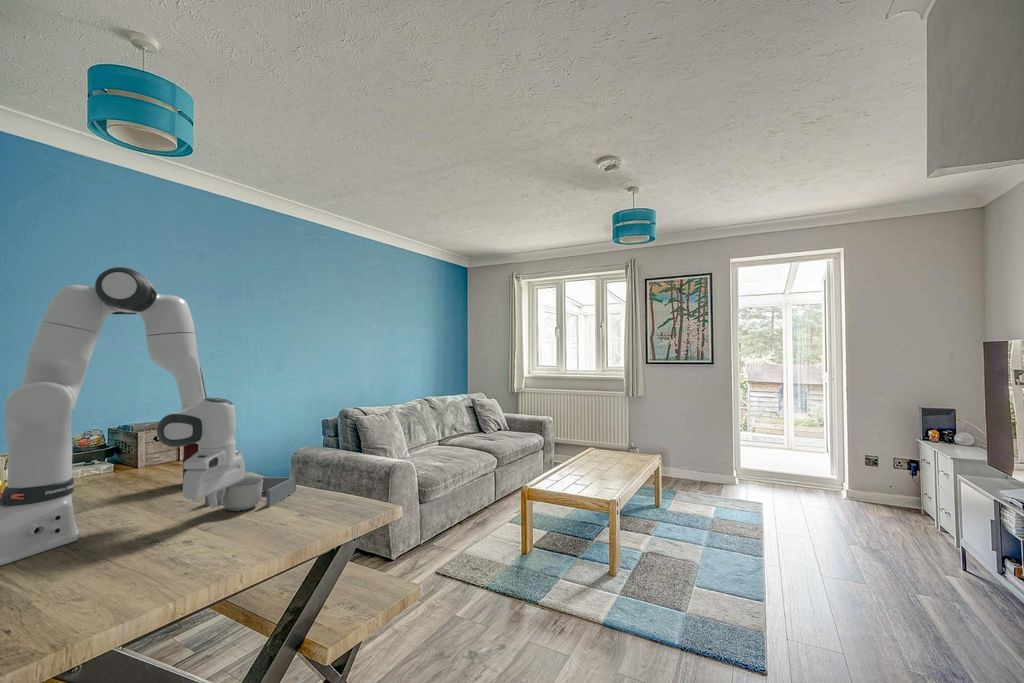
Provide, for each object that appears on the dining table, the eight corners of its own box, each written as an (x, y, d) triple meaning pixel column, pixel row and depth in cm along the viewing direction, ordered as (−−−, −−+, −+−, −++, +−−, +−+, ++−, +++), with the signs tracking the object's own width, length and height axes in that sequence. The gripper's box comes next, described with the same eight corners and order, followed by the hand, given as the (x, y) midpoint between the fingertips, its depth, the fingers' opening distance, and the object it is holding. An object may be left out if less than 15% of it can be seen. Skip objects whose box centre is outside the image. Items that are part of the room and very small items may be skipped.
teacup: (262, 500, 143) (263, 474, 144) (262, 510, 134) (263, 482, 134) (209, 507, 137) (209, 480, 137) (205, 518, 127) (206, 488, 128)
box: (269, 507, 137) (269, 490, 137) (204, 506, 138) (205, 489, 138) (295, 492, 152) (295, 477, 152) (237, 491, 153) (237, 476, 153)
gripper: (231, 448, 139) (230, 495, 139) (178, 464, 119) (177, 518, 118) (251, 449, 139) (250, 495, 138) (201, 464, 118) (200, 518, 118)
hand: (216, 506), depth 128 cm, fingers closed
